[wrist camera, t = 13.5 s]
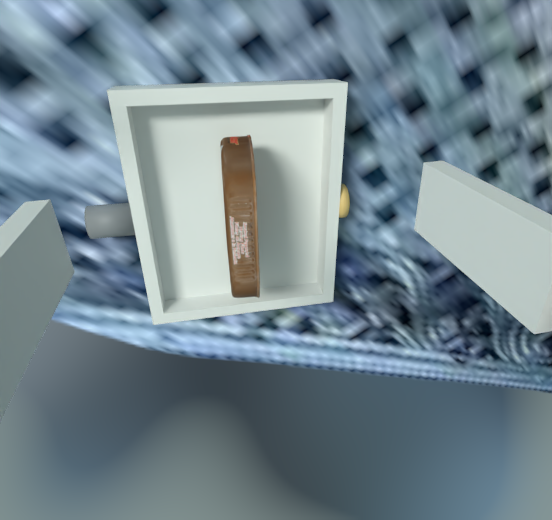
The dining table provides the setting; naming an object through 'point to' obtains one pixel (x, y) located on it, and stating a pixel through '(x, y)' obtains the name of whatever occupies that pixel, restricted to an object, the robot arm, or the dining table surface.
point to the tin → (241, 215)
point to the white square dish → (209, 191)
